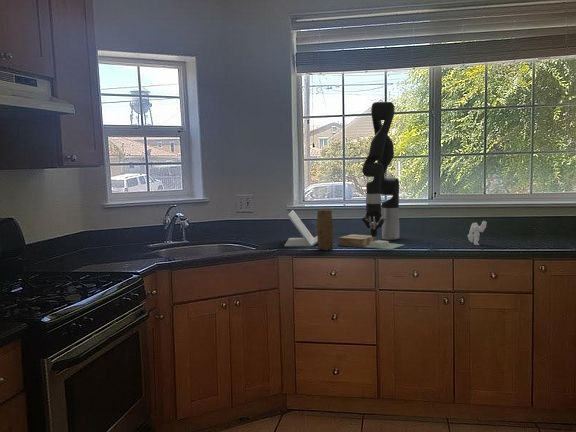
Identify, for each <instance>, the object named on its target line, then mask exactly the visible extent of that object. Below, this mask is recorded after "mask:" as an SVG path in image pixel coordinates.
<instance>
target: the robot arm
mask: <svg viewBox="0 0 576 432" xmlns="http://www.w3.org/2000/svg"><path fill="white" fill-rule="evenodd" d="M370 112H371V120H372V121H371V122H372V126H373V132H374V136H373V138H372V139H371V142H370V147H369V151H368V155H367V157H366V159H365V161H364V163H363V166H362V174H363V175H364V177H367V178H373V179H372V181H368V182H367V183H366V185H365V187H366V191H365V192H366V194H365V212H366V214H365V216H364V217H363V218H361V220H362V221H363V224H364V225H365V226H366V228H367V229H370V235H371V236H372V237H377V235H378V229H380V228H381V239H382V240H387V241H391V240H398V239H400V211H399V210H400V203H399V202H400V181H399V179H398V178H397V177H387V178H386V177H385V174H386V171H387V169H388V167H389V165H390V164H391V162H392V160H393V159H394V156H395V149H394V142H393V140H392V138H391V136H389V135H388V134H389V133H390V129H391V127H392V126H391V125H392V123H393V120H394V116H395V104H394V103H393V102H392V101H375V102H373V103H372V105H371V109H370ZM382 121H383V123H382ZM381 195H382V196H392V197H391V198H390V199H388V200H385V201H383V202H382V196H381Z"/></svg>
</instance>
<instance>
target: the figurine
mask: <svg viewBox="0 0 576 432" xmlns="http://www.w3.org/2000/svg"><path fill="white" fill-rule="evenodd" d="M487 223H488V222H487V221H486V220H483V221H482V222H481V224H480V225H479V224H478V222H473V223H471V225H470V229H469V231H468V232H469V233H468V234H467V238H468V241H469V242H470V243H473V245H475V246H480V243H479V241H480V233H483V232H484V231H485V229H486V228H487Z"/></svg>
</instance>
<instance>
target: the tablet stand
mask: <svg viewBox="0 0 576 432" xmlns="http://www.w3.org/2000/svg"><path fill="white" fill-rule="evenodd" d="M297 214H298V213H296V212H295V211H294V210H293V209H292V210H291V211H290V212H289V213H288V214H287V217H288V218H289V220H290V221H291V223H292V224H293V225H294V227H295V228H296V229H297V231H298V232H299V233H300V235H301V236H302V237H288V239H287V241H286V242H285V244H284V247H314V246H315V245H318V237H317V235H316V236H313V235H312V234H311V232H310V230H309V229H308V228H307V227H306V225H305V224H304V222H302V220H301V219H300V217H299V216H298V215H297Z"/></svg>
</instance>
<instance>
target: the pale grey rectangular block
mask: <svg viewBox="0 0 576 432" xmlns="http://www.w3.org/2000/svg"><path fill="white" fill-rule="evenodd" d="M389 241H390V240H383V239H382V240H380V239H378V240H377V239H376V241H374V242H370V243H369V247H379V248H380V247H384V246H387V245H389V243H390V242H389Z"/></svg>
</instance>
